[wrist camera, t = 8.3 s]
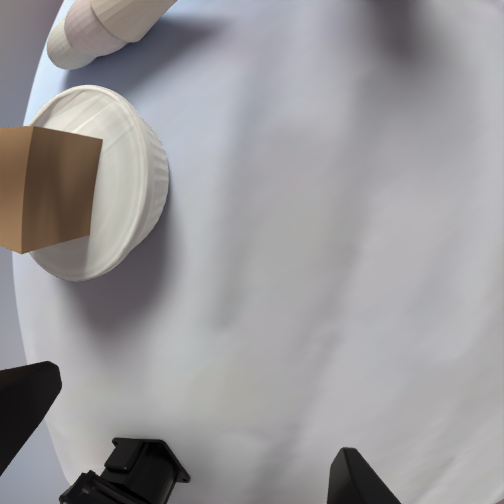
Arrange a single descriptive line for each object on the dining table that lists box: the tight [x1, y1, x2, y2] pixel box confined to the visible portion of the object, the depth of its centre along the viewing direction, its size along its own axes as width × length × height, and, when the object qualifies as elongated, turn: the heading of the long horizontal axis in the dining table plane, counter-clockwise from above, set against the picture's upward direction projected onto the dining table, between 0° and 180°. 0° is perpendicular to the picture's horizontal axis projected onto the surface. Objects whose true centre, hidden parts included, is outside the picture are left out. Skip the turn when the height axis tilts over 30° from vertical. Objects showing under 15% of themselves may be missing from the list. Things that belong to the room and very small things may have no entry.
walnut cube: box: [0, 126, 103, 254], centre depth 12 cm, size 5×5×5 cm
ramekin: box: [28, 85, 169, 282], centre depth 16 cm, size 11×11×5 cm
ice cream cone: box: [47, 0, 177, 70], centre depth 13 cm, size 6×6×15 cm
